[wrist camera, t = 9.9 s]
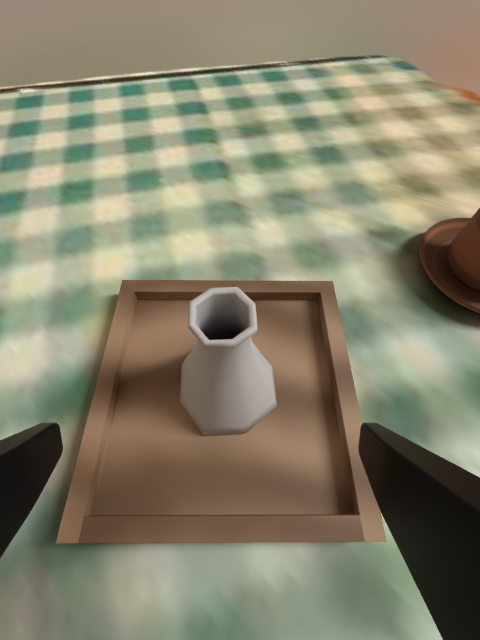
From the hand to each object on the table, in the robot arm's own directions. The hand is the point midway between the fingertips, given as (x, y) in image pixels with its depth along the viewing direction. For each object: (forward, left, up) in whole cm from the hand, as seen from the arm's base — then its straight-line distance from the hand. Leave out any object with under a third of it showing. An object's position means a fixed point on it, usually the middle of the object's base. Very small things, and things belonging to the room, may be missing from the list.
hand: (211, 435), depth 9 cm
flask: (+5, 0, -12) cm, 13 cm away
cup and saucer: (+17, -24, -13) cm, 32 cm away
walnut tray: (+5, 0, -13) cm, 14 cm away
